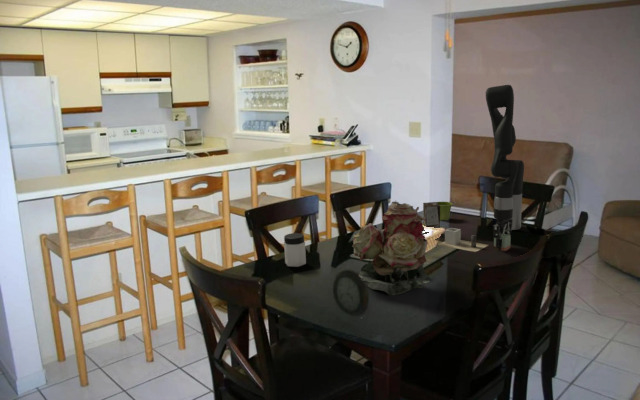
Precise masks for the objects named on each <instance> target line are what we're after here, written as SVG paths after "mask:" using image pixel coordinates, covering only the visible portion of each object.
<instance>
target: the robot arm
mask: <svg viewBox="0 0 640 400" xmlns="http://www.w3.org/2000/svg"><path fill="white" fill-rule="evenodd" d="M485 101H486V105H487V108H488V112H489V117H490V121H491V127H492V134H493V135H492V136H493V140H494V141H493V142H494V153H493V154H494V155H493V159H492V163H491V167H490V171H491V174H492V176H493V177H494V178H502V179H504V181H499V182H497V183H496V184H495V186H494V190H495V191H494V199H493V219H496V223H495V224H493V225H492V238H493V239H494V238H496V247H495V248H498V249H501V247H502V235H503V234H509V235H511V233H512V231H515V230H516V231H517V230H520V229H521V228H522V208H523V206H522V205H523V185H524V173H525V164H524V161H523V160H520V159H508V158H507V156H509V155H512V154H513V147H514V145H515V144H516V142H517V135H516V130H515V126H514V125H513V122H514V104H515V94H514V89H513V86H512V85H510V84H505V85H504V84H503V85H497V86H491V87H490V86H489V87H488V88H486V90H485ZM501 108H505V112H504V115H503V114H501V112H500V110H499V109H501Z"/></svg>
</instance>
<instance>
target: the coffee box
mask: <svg viewBox="0 0 640 400" xmlns="http://www.w3.org/2000/svg"><path fill="white" fill-rule="evenodd" d="M437 202H438V201H432V202H431V201H430V202H423V203H422V217H425V219H426V221H425V220H422V224H423V225H424V226H426V227H434V228H440V229H441V220H440V205H439V204H438V203H437ZM423 225H422V226H423Z"/></svg>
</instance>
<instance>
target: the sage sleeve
mask: <svg viewBox="0 0 640 400" xmlns="http://www.w3.org/2000/svg"><path fill="white" fill-rule="evenodd" d="M511 237H512V236H511V234H503V235H502V247H501V248H498V251H502V252H507V251H508V250H510V249H511V241H512V240H511V239H512V238H511ZM493 247H495V248H497V247H496V238H493Z"/></svg>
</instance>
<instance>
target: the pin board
mask: <svg viewBox="0 0 640 400" xmlns="http://www.w3.org/2000/svg"><path fill="white" fill-rule="evenodd" d="M437 245H439V246H442V247H448V248H451V249H452V248H453V249H457V250H463V251H468V252H474V253H477V252H479V251H481V250H483V249H484V248H487V247H488V246H489V244H485V243H480V242H477V235H476V234H472V235H471V239H470V240H469V241H468V240H463V239H461V243H459V244H456V245H451V244H446V243H445V240H444V241H443V242H440V243H438V244H437Z"/></svg>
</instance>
